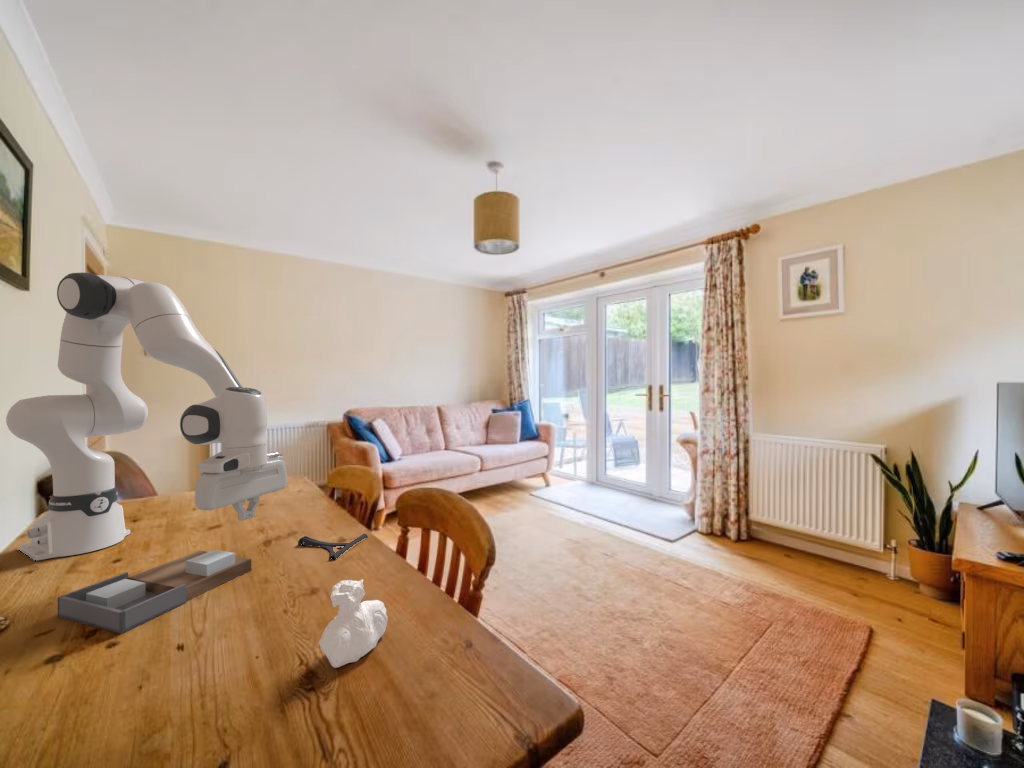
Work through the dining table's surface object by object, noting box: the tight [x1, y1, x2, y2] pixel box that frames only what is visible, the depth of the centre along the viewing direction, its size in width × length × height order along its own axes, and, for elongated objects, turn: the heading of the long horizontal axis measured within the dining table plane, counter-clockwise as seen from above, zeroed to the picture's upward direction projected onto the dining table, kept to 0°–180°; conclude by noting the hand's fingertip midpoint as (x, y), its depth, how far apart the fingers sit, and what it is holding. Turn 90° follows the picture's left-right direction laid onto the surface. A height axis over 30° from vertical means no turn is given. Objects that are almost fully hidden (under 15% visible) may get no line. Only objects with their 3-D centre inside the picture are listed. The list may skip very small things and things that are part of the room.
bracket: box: [297, 533, 368, 560], centre depth 105 cm, size 14×15×3 cm
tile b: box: [186, 549, 236, 576], centre depth 87 cm, size 6×6×2 cm
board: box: [128, 550, 252, 602], centre depth 87 cm, size 16×14×2 cm
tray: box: [56, 571, 187, 635], centre depth 76 cm, size 17×10×4 cm, turn 72°
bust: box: [318, 579, 389, 669], centre depth 64 cm, size 12×8×11 cm
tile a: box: [86, 579, 146, 608], centre depth 78 cm, size 6×6×2 cm
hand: (246, 518), depth 94 cm, fingers closed
